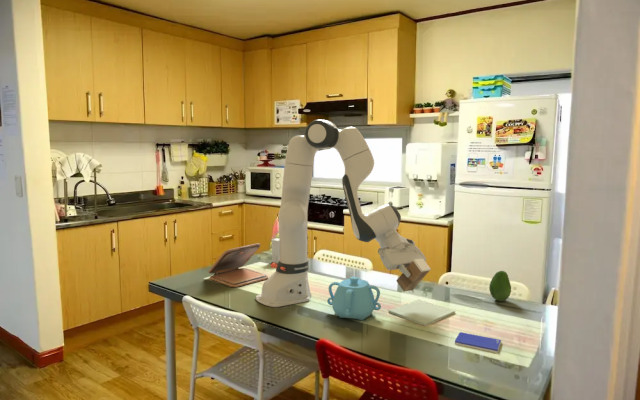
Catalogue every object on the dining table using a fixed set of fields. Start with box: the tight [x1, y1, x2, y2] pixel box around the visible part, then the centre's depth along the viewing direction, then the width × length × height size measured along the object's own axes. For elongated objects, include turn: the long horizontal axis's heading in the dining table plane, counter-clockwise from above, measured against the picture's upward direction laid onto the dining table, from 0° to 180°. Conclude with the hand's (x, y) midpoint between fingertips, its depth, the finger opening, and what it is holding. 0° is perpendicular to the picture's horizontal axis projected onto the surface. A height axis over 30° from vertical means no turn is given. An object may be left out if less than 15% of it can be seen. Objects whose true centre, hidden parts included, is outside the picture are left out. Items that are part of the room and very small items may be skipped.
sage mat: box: [388, 299, 456, 327], centre depth 163 cm, size 18×16×1 cm
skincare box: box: [271, 237, 280, 265], centre depth 230 cm, size 6×4×12 cm
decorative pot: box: [327, 276, 382, 321], centre depth 160 cm, size 16×16×14 cm
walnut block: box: [396, 259, 432, 292], centre depth 163 cm, size 5×5×12 cm
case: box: [208, 242, 269, 288], centre depth 202 cm, size 20×21×16 cm
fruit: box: [489, 270, 512, 302], centre depth 175 cm, size 8×8×12 cm
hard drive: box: [454, 331, 502, 354], centre depth 138 cm, size 2×8×12 cm
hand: (415, 275), depth 163 cm, fingers closed on walnut block, 5 cm apart
